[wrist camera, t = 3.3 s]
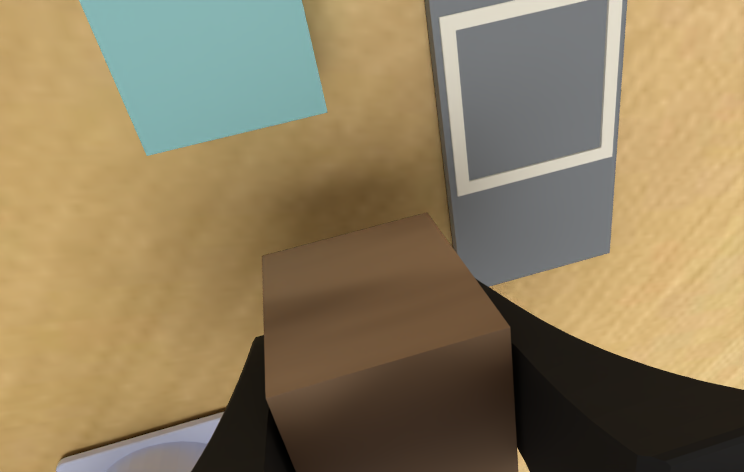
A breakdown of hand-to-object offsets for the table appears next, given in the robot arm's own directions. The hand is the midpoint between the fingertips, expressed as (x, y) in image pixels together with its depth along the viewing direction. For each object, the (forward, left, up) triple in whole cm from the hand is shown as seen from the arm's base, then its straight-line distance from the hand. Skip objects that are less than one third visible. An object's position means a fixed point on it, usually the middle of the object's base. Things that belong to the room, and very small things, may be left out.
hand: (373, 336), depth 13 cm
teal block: (+8, +2, -7) cm, 11 cm away
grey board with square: (+3, -8, -7) cm, 11 cm away
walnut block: (0, 0, -2) cm, 2 cm away
